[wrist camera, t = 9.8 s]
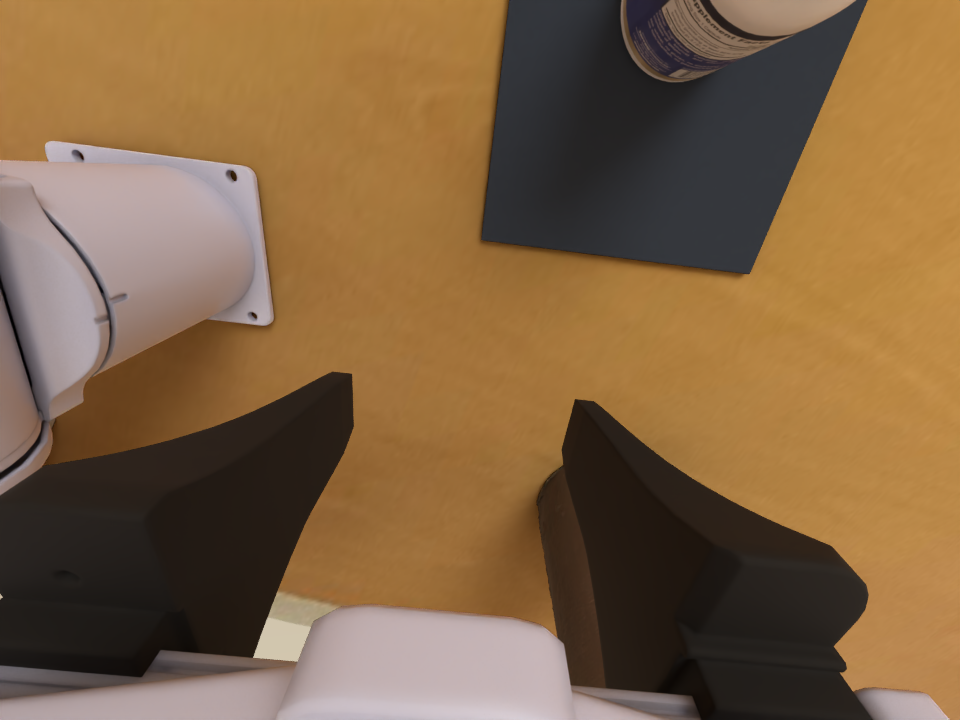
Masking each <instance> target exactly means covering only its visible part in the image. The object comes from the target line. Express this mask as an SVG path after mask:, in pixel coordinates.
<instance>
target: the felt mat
mask: <svg viewBox="0 0 960 720" xmlns="http://www.w3.org/2000/svg"><path fill="white" fill-rule="evenodd" d="M621 1H622V0H509V7H508V16H507V24H506V33H505V41H504V50H503V59H502V67H501V76H500V84H499V93H498V101H497V110H496V118H495V127H494V136H493V144H492V153H491V161H490V170H489V178H488V187H487V195H486V204H485V213H484V221H483V230H482V238H481V240H484V241H492V242H500V243H507V244H515V245H523V246H531V247H539V248H547V249H555V250H563V251H570V252H578V253H586V254H594V255H602V256H610V257H618V258H625V259H633V260H641V261H649V262H657V263H665V264H673V265H681V266H688V267H696V268H704V269H712V270H720V271H728V272H736V273H743V274H750V272H751V270H752V267H753V265H754V263H755V260H756V258H757V256H758V253H759V251H760V249H761V246H762V244H763V242H764V239H765V237H766V235H767V232H768V230H769V228H770V226H771V223H772V221H773V219H774V216H775V214H776V212H777V209H778V207H779V205H780V202H781V200H782V198H783V195H784V193H785V191H786V188H787V186H788V184H789V181H790V179H791V177H792V174H793V172H794V170H795V168H796V165H797V163H798V161H799V158H800V156H801V154H802V151H803V149H804V147H805V144H806V142H807V140H808V137H809V135H810V133H811V130H812V128H813V126H814V123H815V121H816V119H817V117H818V114H819V112H820V110H821V107H822V105H823V103H824V100H825V98H826V96H827V93H828V91H829V89H830V86H831V84H832V82H833V79H834V77H835V75H836V72H837V70H838V68H839V65H840V63H841V61H842V59H843V56H844V54H845V52H846V49H847V47H848V45H849V42H850V40H851V38H852V35H853V33H854V31H855V28H856V26H857V24H858V21H859V19H860V17H861V14H862V12H863V10H864V7H865V5H866V3H867V1H868V0H856V1H854V2H853V3H852V4H850V5H849V6H848V7H846V8H845V9H843V10H841V11H840V12H838V13H837V14H835V15H833V16H831V17H829V18H828V19H826V20H824V21H822V22H820V23H818V24H816V25H814V26H812V27H810V28H809V29H807V30H805V31H802V32H799V33H797V34H795V35H793V36H790V37H789V38H786V39H784V40H782V41H780V42H777V43H775V44H773V45H771V46H769V47H767V48H764V49H762V50H760V51H758V52H756V53H754V54H751V55H749V56H747V57H745V58H743V59H740V60H738V61H736V62H734V63H731V64H729V65H727V66H725V67H723V68H720V69H718V70H716V71H714V72H712V73H709V74H707V75H704V76H702V77H699V78H696V79H693V80H689V81H684V82H667V81H662V80H659V79H656V78H654V77H652V76H650V75H648V74H647V73H646V72H644V71H643V70H642V69H641V68H640V67H639V66H638V65H637V64H636V63H635V61H634V60H633V59H632V57H631V55H630V53H629V51H628V49H627V47H626V44H625V41H624V38H623V33H622V27H621Z"/></svg>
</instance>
